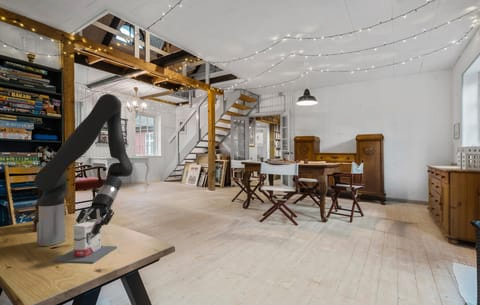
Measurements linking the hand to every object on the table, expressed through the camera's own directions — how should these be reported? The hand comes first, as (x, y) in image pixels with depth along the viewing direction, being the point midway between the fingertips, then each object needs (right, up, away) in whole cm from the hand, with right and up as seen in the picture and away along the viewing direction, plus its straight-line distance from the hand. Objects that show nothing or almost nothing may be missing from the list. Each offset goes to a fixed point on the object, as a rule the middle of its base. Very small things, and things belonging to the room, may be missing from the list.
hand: (85, 233), depth 94 cm
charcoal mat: (0, -8, +1) cm, 8 cm away
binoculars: (-46, -9, +36) cm, 59 cm away
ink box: (0, -8, +1) cm, 8 cm away
